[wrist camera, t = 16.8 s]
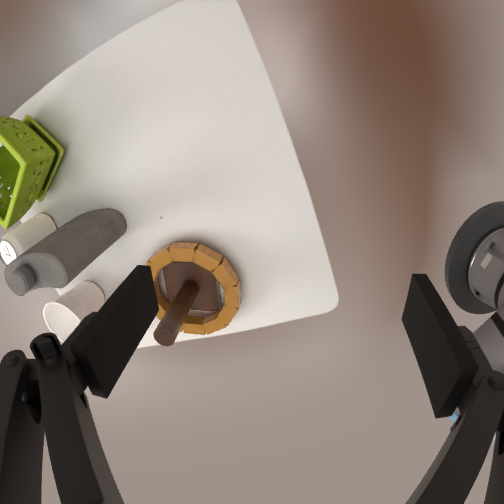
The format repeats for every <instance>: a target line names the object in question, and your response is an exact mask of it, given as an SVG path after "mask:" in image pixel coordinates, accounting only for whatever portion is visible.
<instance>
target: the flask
mask: <svg viewBox="0 0 504 504" xmlns="http://www.w3.org/2000/svg"><path fill="white" fill-rule="evenodd" d="M125 231H126V222H125V219H124V218H123V216H122V215H121V214H120V213H119V212H118V211H116V210H113V209H100V210H94V211H90V212H87V213H84V214H82V215H80V216H78V217H76V218H74V219H73V220H71V221H70V222H68V223H66V224H65V225H63V226H62V227H60V228H59V229H57V230H56V231H54V232H53V233H51V234H50V235H48V236H47V237H45V238H44V239H42V240H41V241H39V242H38V243H36V244H35V245H34V246H32V247H31V248H29V249H28V250H27V251H25V252H24V253H22V254H21V255H20V256H18V257H17V258H15V259H14V260H13V261H11V262H10V263H9V264H8V265H7V266H6V268H5V271H4V276H5V280H6V283H7V284H8V286H9V288H10V289H11V290H12V291H13V292H14V293H15V294H16V295H18V296H23V295H24V294H26V293H27V292H29V291H31V290H34V289H37V288H43V287H52V288H63V287H65V286H66V285H68V284H69V283H70V282H71V281H72V280H73V279H74V278H75V277H76V276H77V275H78V274H79V273H80V272H81V271H83V270H84V269H85V268H86V267H87V266H88V265H89V264H90V263H91V262H93V261H94V260H95V259H96V258H97V257H98V256H99V255H100V254H101V253H103V252H104V251H105V250H106V249H107V248H108V247H109V246H111V245H112V244H113V243H114V242H115V241H116V240H118V239H119V238H120V237H121V236H122V235H123V234H124V232H125Z"/></svg>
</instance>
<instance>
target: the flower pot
mask: <svg viewBox="0 0 504 504" xmlns="http://www.w3.org/2000/svg"><path fill="white" fill-rule="evenodd" d="M0 142H1V143H2V144H3V146H1V147H0V177H1V179H0V185H2V186H3V187H1V188H0V195H1V196H2V198H0V225H1V226H2V227H3V228H5V229H8V228H9V227H11V226H12V225H14V224H15V223H16V222H17V221H18V220H19V219H21V218H22V217H23V216H24V215H25V214H26V212H27V211H28V210H29V209H30V208H31V206H32V205H33V203H34V202H35V200H36V199H37V200H38V201H39V202H42V201H43V199H44V197H45V194H46V192H47V190H48V188H49V185H50V183H51V181H52V178H53V176H54V174H55V172H56V170H57V167H58V165H59V163H60V160H61V158H62V156H63V154H64V148H63V147H62V146H61V145H60V144H59V143H58V142H57V141H56V140H55V139H54V138H53V137H52V136H51V135H50V134H49V133H47V132H46V131H45V130H44V129H43V128H42V127H41V126H40V125H39V124H38V123H37V122H36V121H35V120H34V119H32V118H31V117H30V116H28V115H26V116H25V117H24V119H23V122H22V121H20V120H17V119H14V118H10V117H3V116H0ZM8 187H10V189H7V188H8ZM10 195H12V197H11V198H10V197H9V196H10ZM8 205H9V206H8ZM2 206H3V207H2Z"/></svg>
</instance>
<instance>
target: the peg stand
mask: <svg viewBox="0 0 504 504" xmlns="http://www.w3.org/2000/svg"><path fill="white" fill-rule="evenodd" d="M162 268H163V274H164V280H165V285H166V291H167V296H168V301H169V307H168V309H167V311H166V312H165V314H164V316H163V317H162V319H161V321H160V323H159V324H158V326H157V328H156V330H155V331H154V338H155V340H156V341H157V342H158V343H159V344H161V345H163V346H170V345H172V344H173V343H174V341H175V339H176V337H177V335H178V333H179V331H180V329H181V327H182V325H183V323H184V321H185V319H186V317H187V315H188V313H189V311H190V310H203V311H217V312H218V311H220V308H221V300H220V289H219V281H218V280H217V279H216V277H215V276H214V275H213V273H212V272H211V271H209V270H207V269H205V268H203V267H201V266H200V265H198V264H196V263H194V262H181V261H173V262H171V263H169V264H168V265H166V266H164V267H162Z"/></svg>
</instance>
